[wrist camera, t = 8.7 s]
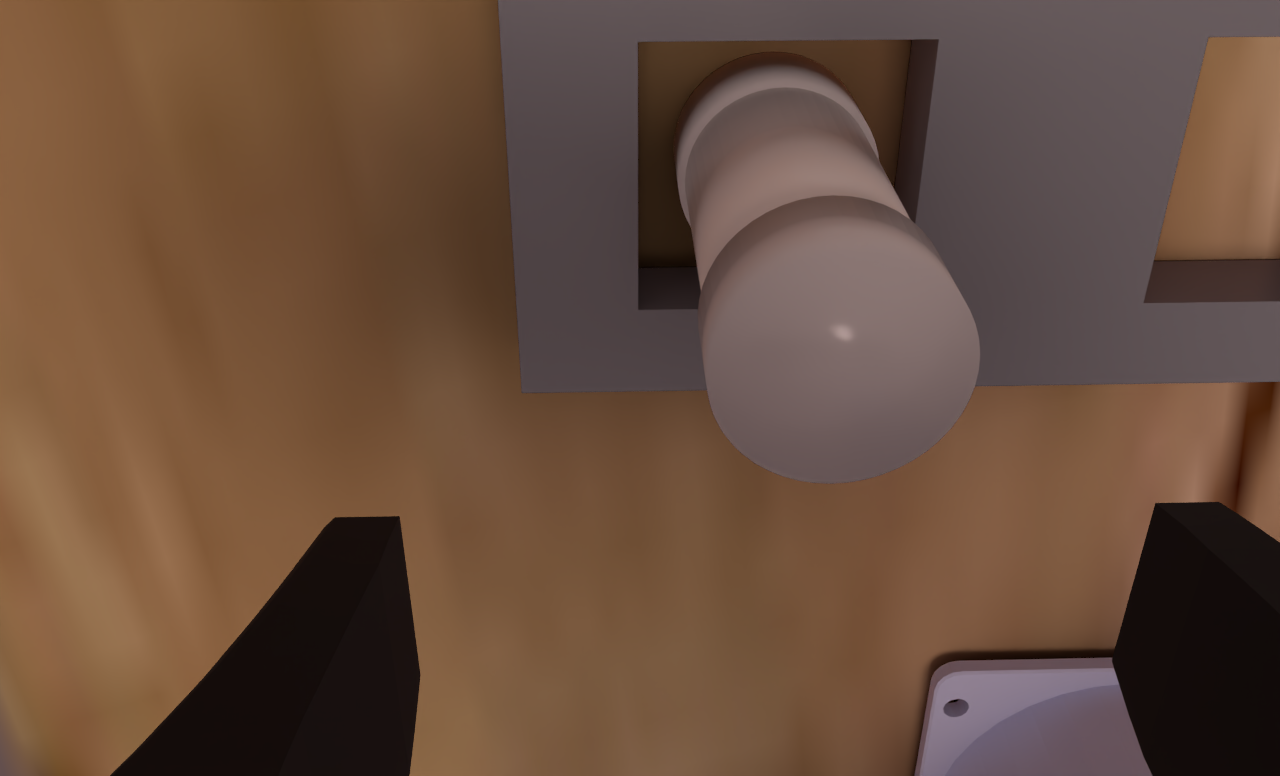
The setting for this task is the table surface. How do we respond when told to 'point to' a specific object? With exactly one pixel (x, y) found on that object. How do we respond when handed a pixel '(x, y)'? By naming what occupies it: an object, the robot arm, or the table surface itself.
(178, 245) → the table surface
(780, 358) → the cylinder
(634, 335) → the holder
